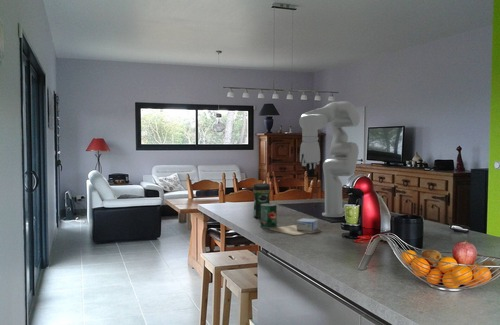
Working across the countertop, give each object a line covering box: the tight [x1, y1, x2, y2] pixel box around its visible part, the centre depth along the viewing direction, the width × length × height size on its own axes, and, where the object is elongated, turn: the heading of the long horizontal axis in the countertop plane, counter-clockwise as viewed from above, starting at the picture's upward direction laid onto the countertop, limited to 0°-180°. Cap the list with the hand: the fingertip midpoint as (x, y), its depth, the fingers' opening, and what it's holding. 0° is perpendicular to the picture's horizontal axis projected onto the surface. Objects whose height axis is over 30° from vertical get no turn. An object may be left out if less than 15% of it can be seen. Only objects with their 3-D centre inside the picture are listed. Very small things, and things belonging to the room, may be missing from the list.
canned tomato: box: [260, 202, 278, 229], centre depth 223 cm, size 8×8×11 cm
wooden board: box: [269, 224, 321, 237], centre depth 213 cm, size 16×18×1 cm
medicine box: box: [296, 217, 319, 231], centre depth 213 cm, size 8×4×9 cm
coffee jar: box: [252, 182, 271, 219], centre depth 251 cm, size 10×8×19 cm
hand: (311, 176), depth 226 cm, fingers closed
